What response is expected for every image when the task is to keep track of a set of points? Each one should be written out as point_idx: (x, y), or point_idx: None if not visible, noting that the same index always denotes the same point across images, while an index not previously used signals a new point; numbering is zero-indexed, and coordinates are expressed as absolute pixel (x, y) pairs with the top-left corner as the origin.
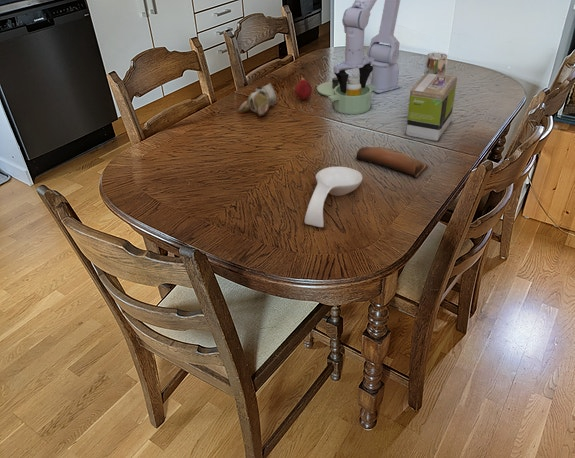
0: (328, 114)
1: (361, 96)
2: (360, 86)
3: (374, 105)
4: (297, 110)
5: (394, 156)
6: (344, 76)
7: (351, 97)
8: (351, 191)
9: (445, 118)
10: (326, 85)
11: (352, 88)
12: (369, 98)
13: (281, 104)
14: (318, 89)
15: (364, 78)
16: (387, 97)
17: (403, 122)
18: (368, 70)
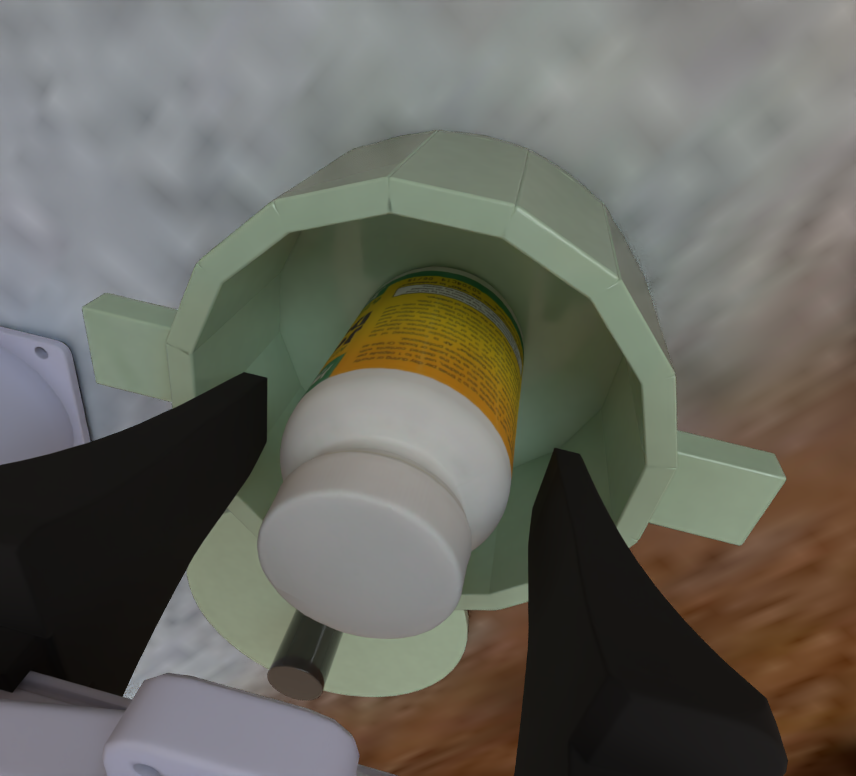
0: (766, 381)
1: (495, 199)
2: (336, 387)
3: (247, 186)
4: (844, 608)
5: None
6: (729, 696)
7: (630, 296)
8: None
9: None
10: (346, 666)
11: (482, 427)
12: (328, 174)
13: (801, 721)
14: (438, 672)
15: (186, 458)
16: (32, 227)
17: None
18: (37, 511)
